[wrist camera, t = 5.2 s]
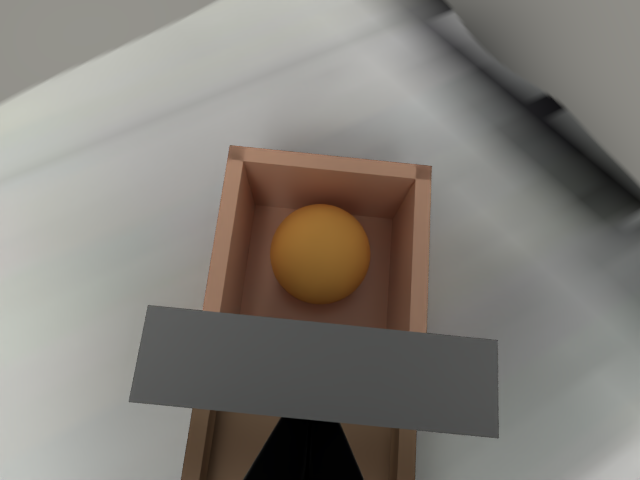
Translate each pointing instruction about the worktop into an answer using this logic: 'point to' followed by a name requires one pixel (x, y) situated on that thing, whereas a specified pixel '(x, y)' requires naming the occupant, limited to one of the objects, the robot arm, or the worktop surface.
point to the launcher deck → (253, 431)
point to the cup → (332, 189)
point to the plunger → (317, 371)
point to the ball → (320, 254)
